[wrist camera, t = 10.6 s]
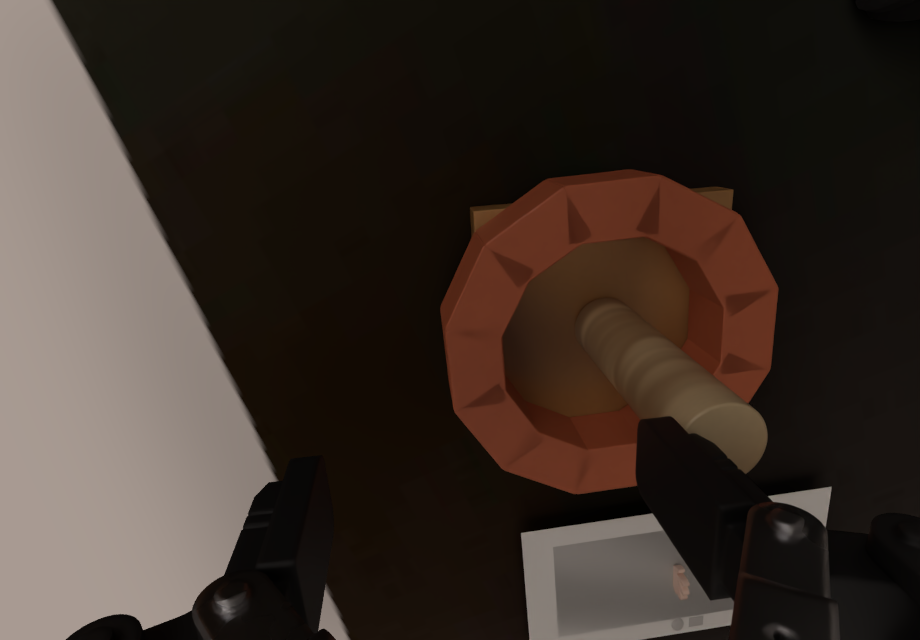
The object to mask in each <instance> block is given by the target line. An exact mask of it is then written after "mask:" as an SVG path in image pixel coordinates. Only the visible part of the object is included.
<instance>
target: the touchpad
mask: <svg viewBox="0 0 920 640" xmlns="http://www.w3.org/2000/svg"><path fill="white" fill-rule="evenodd" d="M831 488H832V487H825V488H819V489H812V490H805V491H798V492H792V493H785V494H778V495H772V496H768V497H769V498H770V499H771V500H772V501H773V502H779V503H785V504H789V505H793V506H796V507H798V508H801V509H803V510H805V511H807V512H809V513H810V514H812V515H813V516H815V517H816V518H817V519H818V520H820V521H821V522H822V524H823V525H824V526H825V528H826V521H827V515H828V508H829V501H830V495H831ZM521 540H522V552H523V565H524V577H525V589H526V601H527V614H528V626H529V638H530V640H642V639H648V638H654V637H660V636H666V635H673V634H679V633H685V632H691V631H697V630H703V629H710V628H716V627H722V626H728V625H731V621H732V614H733V608H734V601H733V600H732V599H731V598H725V599H718V600H711V601H710V599H709V598H708V596H707V595H706V593H705V592H704V590H703V589H702V587H701V586H700V584H699V583H698V581H697V580H696V578H695V577H694V575H693V574H692V572H691V571H690V569H689V568H688V566H687V565H686V563H685V562H684V560H683V559H682V557H681V556H680V554H679V553H678V551H677V550H676V548H675V547H674V545H673V544H672V542H671V541H670V539H669V538H668V536H667V535H666V533H665V531H664V530H663V528H662V527H661V525H660V524H659V522H658V521H657V519H656V518H655V516H654V515H653V513H651V514H645V515H638V516H631V517H625V518H618V519H611V520H605V521H598V522H591V523H584V524H578V525H571V526H564V527H558V528H551V529H544V530H538V531H531V532H524V533H521Z"/></svg>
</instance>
